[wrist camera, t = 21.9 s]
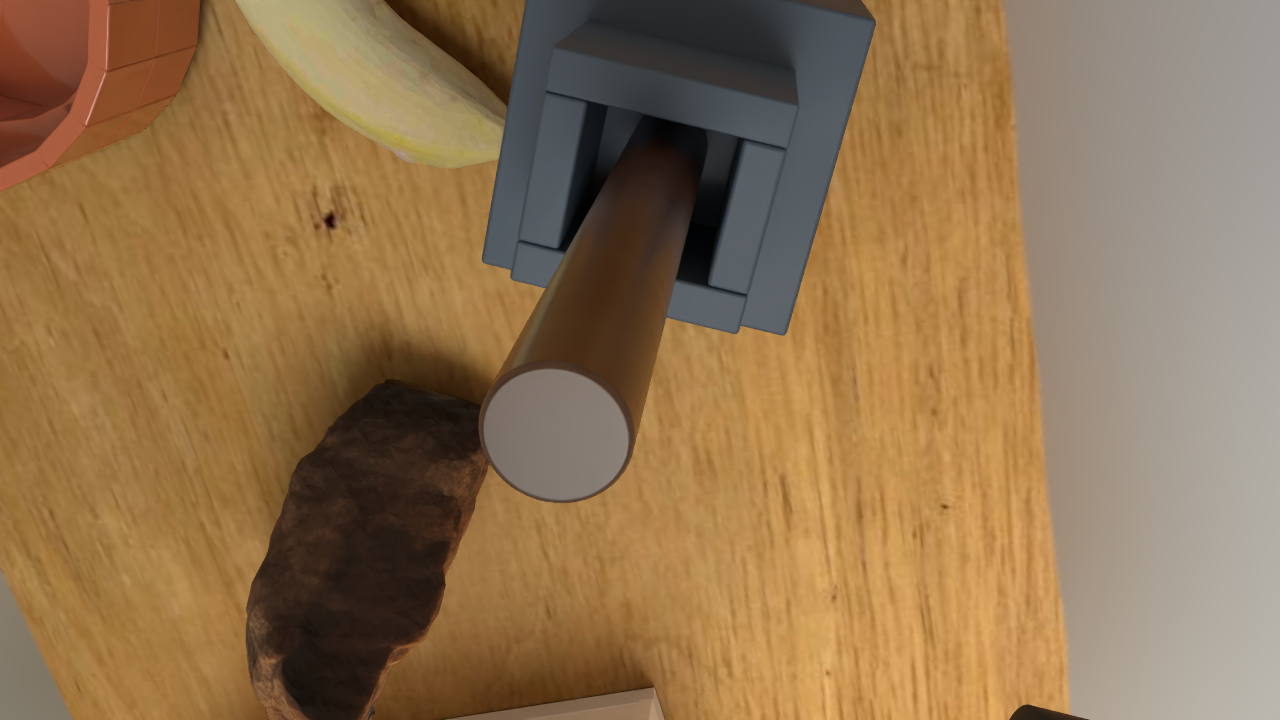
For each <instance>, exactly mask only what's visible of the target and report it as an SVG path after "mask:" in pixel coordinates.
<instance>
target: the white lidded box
mask: <svg viewBox="0 0 1280 720" xmlns="http://www.w3.org/2000/svg"><path fill="white" fill-rule="evenodd" d="M445 720H665V719H664V716H663V713H662V710H661V706H660V703H659V700H658V697H657V694H656V691H655V687H653V688H646V689H640V690H633V691H627V692H620V693H614V694H607V695H601V696H594V697H588V698H582V699H575V700H569V701H562V702H556V703H549V704H543V705H536V706H530V707H523V708H517V709H510V710H504V711H497V712H491V713H484V714H478V715H471V716H465V717H458V718H452V719H445Z"/></svg>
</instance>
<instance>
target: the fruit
mask: <svg viewBox="0 0 1280 720" xmlns="http://www.w3.org/2000/svg"><path fill="white" fill-rule="evenodd" d="M235 2H236V4H237V5H238V7H239V8H240V10H241V11H242V13H243V15H244V17H245V18H246V20H247V22H248V23H249V25H250V26H251V28H252V29H253V31H254V32H255V34H256V35H257V36H258V38H259V39H260V40H261V42H262V43H263V44H264V46H265V47H266V49H267V50H268V51H269V53H270V54H271V55H272V56H273V57H274V58H275V60H276V61H277V62H278V63H279V64H280V66H281V67H282V68H283V69H284V70H285V71H286V73H287V74H288V75H289V76H290V77H291V78H292V79H293V80H294V81H295V82H296V83H297V84H298V86H299V87H300V88H301V89H303V90H304V91H305V92H306V93H307V94H308V95H309V96H310V97H311V98H312V99H313V100H315V101H316V102H317V103H318V104H319V105H320V106H321V107H323V108H324V109H325V110H326V111H328V112H329V113H330V114H331V115H333V116H334V117H335V118H337V119H338V120H340V121H341V122H342V123H344V124H345V125H347V126H348V127H350V128H352V129H353V130H355V131H356V132H358V133H360V134H362V135H363V136H365V137H367V138H369V139H371V140H373V141H374V142H376V143H378V144H379V145H381V146H383V147H384V148H386V149H388V150H390V151H392V152H394V153H395V154H396V155H397V156H398V157H399V158H401V159H402V160H404V161H406V162H409V163H421V164H426V165H428V166H432V167H440V168H448V169H451V168H461V167H466V166H470V165H475V164H480V163H485V162H490V161H494V160H498V159H499V155H500V149H501V144H502V138H503V132H504V126H505V120H506V114H507V108H508V107H507V106H506V105H505V104H504V103H503V102H502V101H501V99H500V98H499V97H498V96H497V95H496V94H495V93H494V92H492V91H491V90H490V89H489V88H488V87H487V86H486V85H485V84H484V83H483V82H482V81H481V80H480V79H478V78H477V77H476V76H475V75H473V74H472V73H471V72H470V71H469V70H468V69H466V68H465V67H464V66H463V65H462V64H460V63H459V62H458V61H456V60H455V59H454V58H452V57H451V56H450V55H448V54H447V53H446V52H444V51H443V50H441V49H440V48H439V47H438V46H436V45H435V44H434V43H433V42H431V41H430V40H429V39H427V38H426V37H425V36H423V35H422V34H421V33H419V32H418V31H417V30H415V29H414V28H413V27H411V26H410V25H409V24H408V23H407V22H405V21H404V20H403V19H402V18H401V17H399V16H398V15H397V14H396V12H395V11H394V10H393V9H392V8H391V7H390V6H389V5H388V4H387V3H386V2H385V1H384V0H235Z"/></svg>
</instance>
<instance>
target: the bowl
mask: <svg viewBox="0 0 1280 720" xmlns="http://www.w3.org/2000/svg"><path fill="white" fill-rule="evenodd" d="M199 11H200V0H0V191H4V190H6V189H9V188H11V187H14V186H16V185H19V184H21V183H24V182H26V181H29V180H31V179H34V178H36V177H39V176H41V175H43V174H46V173H48V172H51V171H53V170H56V169H58V168H61V167H63V166H66V165H68V164H71V163H73V162H76V161H78V160H80V159H83V158H85V157H88V156H90V155H93V154H95V153H98V152H100V151H103V150H105V149H107V148H109V147H111V146H113V145H115V144H117V143H119V142H122V141H124V140H126V139H128V138H130V137H132V136H134V135H136V134H138V133H141V132H142V131H143V130H145V129H146V128H147V127H148V126H149V125H150V123H151V122H152V121H153V120H154V119H155V118H156V117H157V116H158V115H159V114H160V113H161V112H162V111H163V109H164V108H165V107H166V106H167V105H168V104H169V103H170V102H171V101H172V100H173V99H174V98H175V96H176V94H177V93H178V91H179V89H180V86H181V84H182V81H183V79H184V76H185V74H186V71H187V69H188V67H189V64H190V62H191V59H192V57H193V54H194V52H195V49H196V45H197V43H198V27H199Z"/></svg>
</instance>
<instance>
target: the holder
mask: <svg viewBox="0 0 1280 720" xmlns="http://www.w3.org/2000/svg"><path fill="white" fill-rule="evenodd" d="M875 25H876V21H875V19H874V18H873V16H872V15H871V13H870V12H869V11H868V9H867V8H866V6H865V5H864V3H863V2H862V1H861V0H526V3H525V9H524V15H523V20H522V26H521V32H520V38H519V44H518V50H517V56H516V62H515V67H514V73H513V79H512V85H511V91H510V97H509V103H508V108H507V114H506V120H505V126H504V132H503V138H502V144H501V149H500V155H499V161H498V167H497V173H496V179H495V185H494V190H493V196H492V202H491V208H490V214H489V220H488V226H487V232H486V237H485V243H484V249H483V255H482V262H483V263H485V264H489V265H493V266H497V267H501V268H506V269H510V270H511V275H510V277H511V279H512V280H514V281H518V282H522V283H527V284H531V285H535V286H539V287H543V288H546V287H547V285H548V284H549V282H550V280H551V278H552V276H553V275H554V273H555V271H556V269H557V268H558V266H559V264H560V262H561V260H562V259H563V257H564V255H565V253H566V251H567V250H568V248H569V246H570V244H571V243H572V241H573V239H574V237H575V235H576V234H577V232H578V230H579V228H580V226H581V225H582V223H583V221H584V219H585V218H586V216H587V214H588V212H589V210H590V209H591V207H592V205H593V203H594V201H595V200H596V198H597V196H598V194H599V193H600V191H601V189H602V187H603V185H604V184H605V182H606V180H607V178H608V176H609V175H610V173H611V171H612V169H613V167H614V166H615V164H616V162H617V160H618V159H619V157H620V155H621V153H622V151H623V150H624V148H625V146H626V144H627V142H628V141H629V139H630V137H631V135H632V134H633V132H634V130H635V128H636V126H637V125H638V123H639V122H640V120H641V119H642V118H643V117H644V116H645V115H649V116H653V117H657V118H661V119H665V120H669V121H674V122H678V123H682V124H686V125H690V126H694V127H699V128H703V129H705V132H706V135H707V140H708V151H707V156H706V160H705V164H704V168H703V172H702V176H701V180H700V184H699V188H698V192H697V196H696V200H695V204H694V208H693V212H692V216H691V220H690V224H689V228H688V232H687V236H686V240H685V244H684V248H683V252H682V256H681V260H680V264H679V268H678V272H677V276H676V280H675V284H674V288H673V292H672V296H671V301H670V305H669V309H668V313H667V318H671V319H675V320H679V321H683V322H687V323H691V324H696V325H700V326H704V327H708V328H712V329H716V330H720V331H724V332H729V333H733V334H737V333H738V332H739V329H740V325H741V326H745V327H749V328H753V329H757V330H761V331H765V332H769V333H774V334H778V335H785V334H786V333H787V330H788V327H789V323H790V320H791V316H792V313H793V309H794V306H795V302H796V299H797V296H798V292H799V289H800V285H801V282H802V278H803V275H804V271H805V268H806V264H807V261H808V257H809V254H810V251H811V247H812V244H813V240H814V237H815V233H816V230H817V226H818V223H819V219H820V216H821V212H822V209H823V205H824V202H825V199H826V195H827V192H828V188H829V185H830V181H831V178H832V174H833V171H834V167H835V164H836V160H837V157H838V153H839V150H840V147H841V143H842V140H843V136H844V133H845V129H846V126H847V122H848V119H849V115H850V112H851V108H852V105H853V102H854V98H855V95H856V91H857V88H858V84H859V81H860V77H861V74H862V70H863V67H864V63H865V60H866V56H867V53H868V50H869V46H870V43H871V39H872V36H873V32H874V29H875Z"/></svg>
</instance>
